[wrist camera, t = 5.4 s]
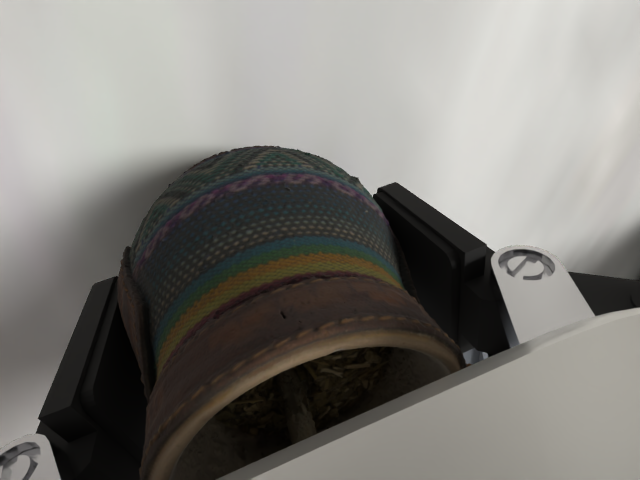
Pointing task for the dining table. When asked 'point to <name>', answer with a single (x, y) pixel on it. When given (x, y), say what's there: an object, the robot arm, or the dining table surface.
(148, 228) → the mate gourd
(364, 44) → the dining table surface
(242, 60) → the dining table surface
